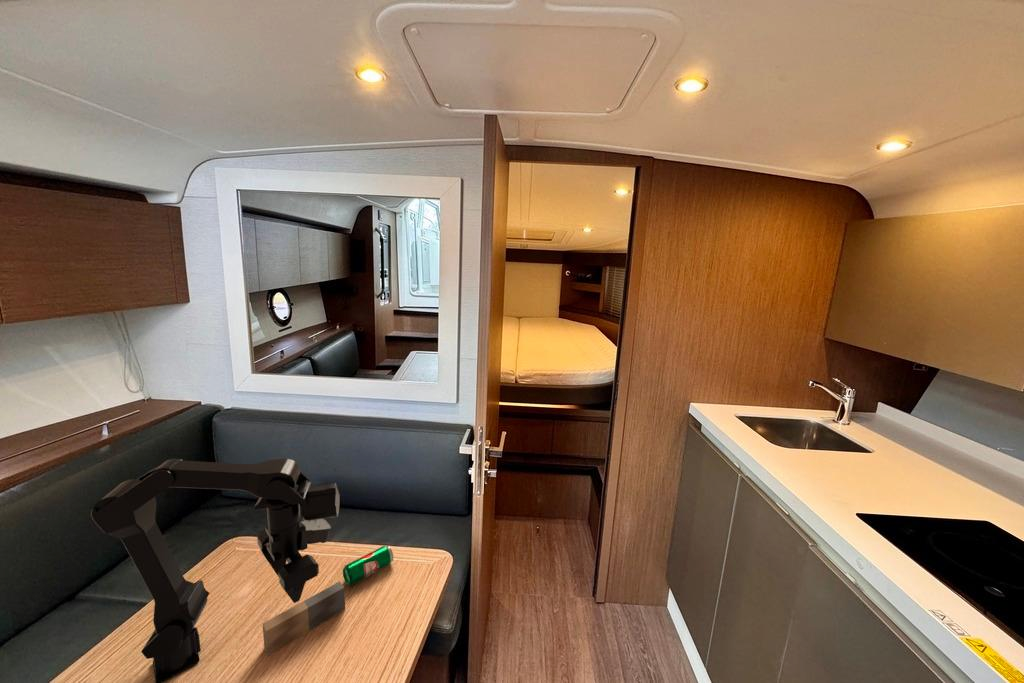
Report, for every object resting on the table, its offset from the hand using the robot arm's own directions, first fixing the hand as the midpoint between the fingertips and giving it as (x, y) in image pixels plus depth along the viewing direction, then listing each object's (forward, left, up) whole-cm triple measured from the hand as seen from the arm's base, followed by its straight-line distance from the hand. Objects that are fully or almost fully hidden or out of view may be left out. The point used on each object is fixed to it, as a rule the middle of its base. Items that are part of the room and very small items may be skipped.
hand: (289, 588), depth 81 cm
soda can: (+14, +6, -10) cm, 18 cm away
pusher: (+3, 0, -12) cm, 12 cm away
